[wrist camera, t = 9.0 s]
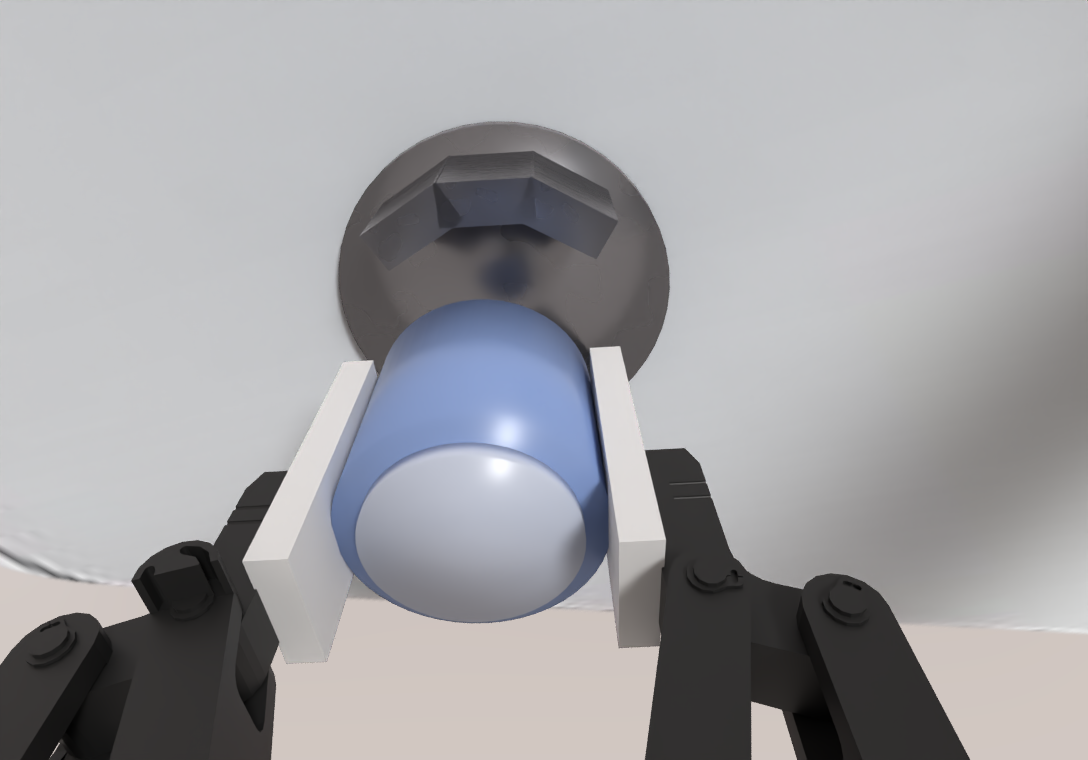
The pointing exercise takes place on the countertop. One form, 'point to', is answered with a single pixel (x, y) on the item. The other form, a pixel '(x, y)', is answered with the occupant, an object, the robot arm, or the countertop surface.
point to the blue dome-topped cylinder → (476, 469)
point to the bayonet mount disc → (506, 240)
